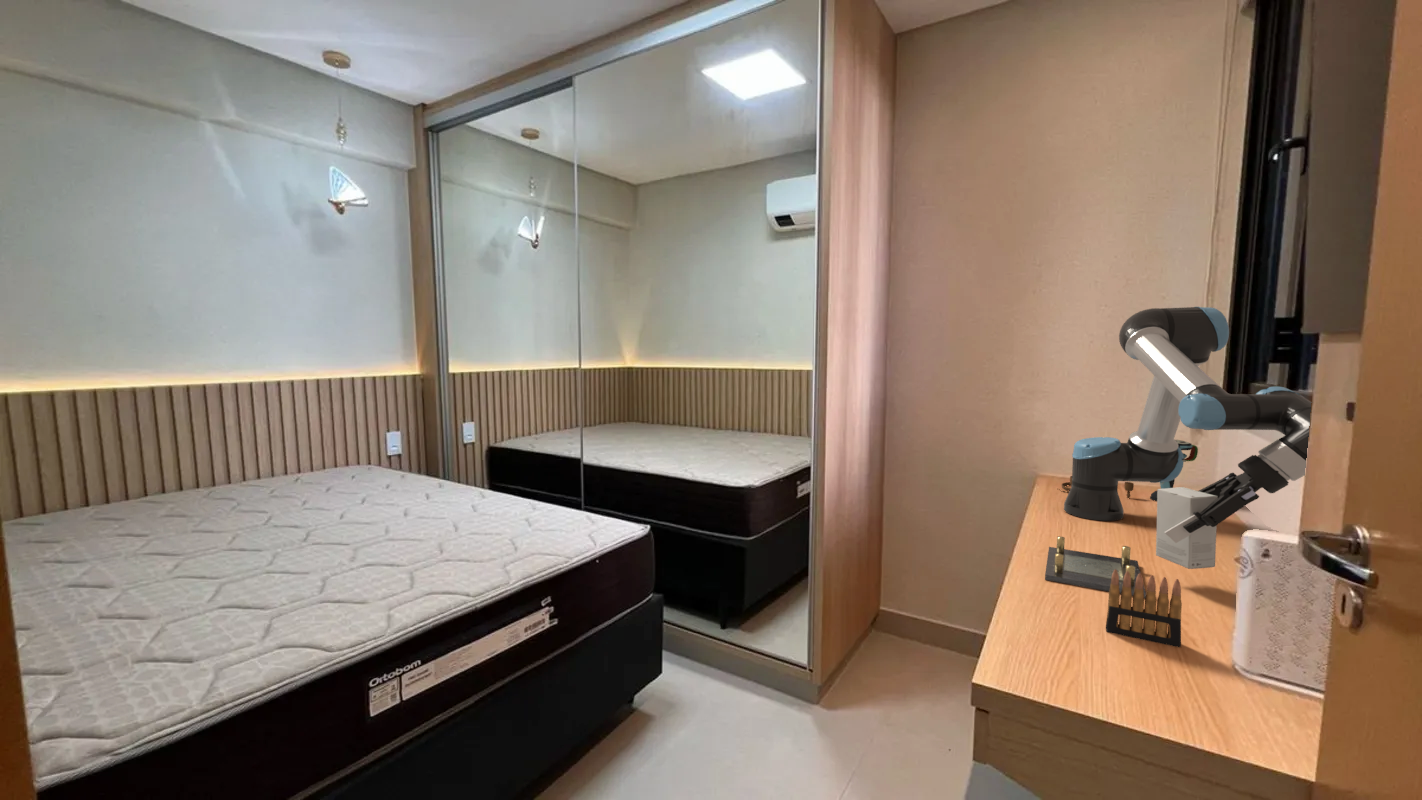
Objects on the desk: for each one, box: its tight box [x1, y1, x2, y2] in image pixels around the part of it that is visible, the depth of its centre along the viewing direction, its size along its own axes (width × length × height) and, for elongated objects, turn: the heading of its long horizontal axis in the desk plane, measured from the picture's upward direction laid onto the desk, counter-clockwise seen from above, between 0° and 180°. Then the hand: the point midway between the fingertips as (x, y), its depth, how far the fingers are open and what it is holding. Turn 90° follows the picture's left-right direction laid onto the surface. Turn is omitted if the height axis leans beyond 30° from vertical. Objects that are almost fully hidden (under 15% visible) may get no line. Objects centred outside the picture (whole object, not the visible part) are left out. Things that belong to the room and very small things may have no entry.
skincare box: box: [1155, 486, 1218, 570], centre depth 120 cm, size 8×7×16 cm
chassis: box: [1044, 535, 1147, 599], centre depth 128 cm, size 20×18×5 cm
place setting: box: [1058, 475, 1135, 500], centre depth 194 cm, size 18×20×6 cm
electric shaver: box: [1149, 439, 1199, 502], centre depth 182 cm, size 9×12×20 cm
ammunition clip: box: [1105, 569, 1183, 648], centre depth 100 cm, size 11×2×12 cm, turn 58°
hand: (1166, 530), depth 122 cm, fingers closed on skincare box, 10 cm apart
